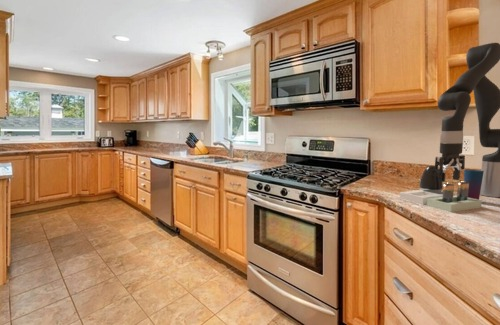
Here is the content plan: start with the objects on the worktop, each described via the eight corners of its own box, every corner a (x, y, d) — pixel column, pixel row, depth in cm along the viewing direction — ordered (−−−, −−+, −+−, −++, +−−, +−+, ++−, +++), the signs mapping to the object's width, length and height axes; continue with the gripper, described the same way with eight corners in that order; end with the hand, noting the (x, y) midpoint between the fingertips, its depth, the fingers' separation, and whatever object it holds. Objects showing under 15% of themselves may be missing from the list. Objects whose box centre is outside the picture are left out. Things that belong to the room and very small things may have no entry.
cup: (461, 199, 126) (464, 168, 124) (480, 201, 122) (483, 169, 120) (461, 202, 121) (464, 170, 119) (481, 205, 116) (484, 171, 115)
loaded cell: (460, 203, 117) (461, 180, 116) (469, 205, 114) (471, 181, 112) (454, 204, 116) (455, 180, 115) (463, 206, 112) (465, 182, 111)
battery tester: (426, 196, 134) (427, 188, 134) (451, 201, 123) (452, 193, 122) (399, 199, 128) (400, 191, 128) (422, 205, 117) (423, 197, 117)
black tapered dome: (422, 196, 134) (424, 166, 132) (416, 191, 144) (417, 164, 142) (445, 197, 131) (448, 166, 129) (437, 192, 141) (439, 164, 139)
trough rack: (455, 202, 121) (456, 195, 120) (480, 208, 111) (481, 200, 111) (426, 206, 115) (427, 198, 115) (450, 213, 106) (451, 204, 105)
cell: (445, 205, 114) (447, 181, 113) (454, 208, 111) (456, 183, 110) (439, 206, 113) (441, 182, 112) (448, 209, 110) (450, 184, 108)
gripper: (453, 141, 115) (451, 177, 117) (429, 142, 110) (427, 180, 112) (473, 141, 107) (470, 180, 109) (448, 143, 103) (445, 183, 105)
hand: (448, 180), depth 111 cm, fingers open, 8 cm apart
